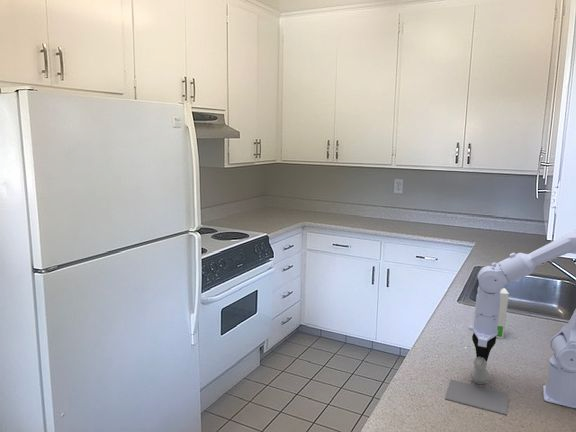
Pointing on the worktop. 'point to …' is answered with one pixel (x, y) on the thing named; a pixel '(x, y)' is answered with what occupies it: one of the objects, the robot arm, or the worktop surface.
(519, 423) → the worktop surface
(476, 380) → the rook chess piece
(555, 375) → the robot arm
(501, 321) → the skincare box
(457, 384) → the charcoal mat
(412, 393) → the worktop surface
